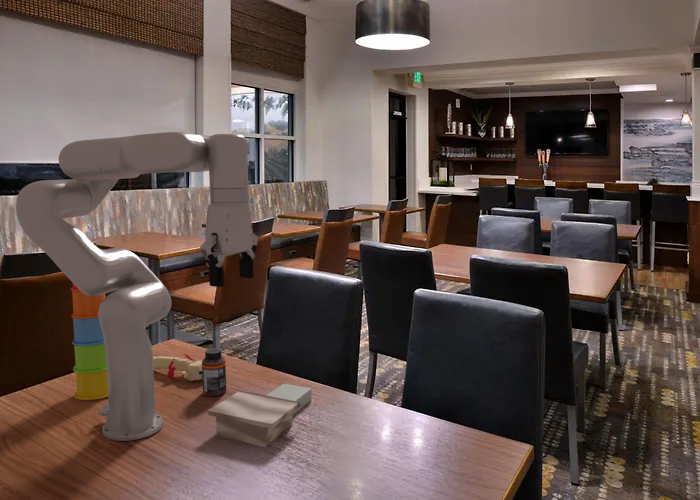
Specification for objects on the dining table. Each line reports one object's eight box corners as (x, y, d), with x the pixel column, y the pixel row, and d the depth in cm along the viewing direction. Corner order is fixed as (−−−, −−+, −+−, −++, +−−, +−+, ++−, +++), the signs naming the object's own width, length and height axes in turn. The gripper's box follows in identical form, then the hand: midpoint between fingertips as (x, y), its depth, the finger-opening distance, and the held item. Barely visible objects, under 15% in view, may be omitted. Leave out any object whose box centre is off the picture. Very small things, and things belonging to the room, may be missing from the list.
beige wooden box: (240, 412, 133) (239, 390, 132) (299, 425, 127) (299, 401, 126) (208, 434, 122) (208, 410, 121) (272, 449, 116) (271, 423, 115)
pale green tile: (258, 413, 133) (258, 401, 132) (283, 394, 144) (283, 383, 143) (287, 419, 130) (287, 407, 129) (311, 400, 141) (311, 388, 140)
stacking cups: (66, 401, 139) (57, 263, 134) (85, 385, 149) (77, 256, 144) (108, 401, 139) (100, 263, 134) (124, 386, 149) (117, 257, 144)
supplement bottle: (208, 387, 148) (206, 346, 147) (229, 388, 148) (228, 347, 146) (199, 396, 142) (197, 353, 141) (221, 397, 142) (220, 354, 140)
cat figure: (128, 378, 158) (199, 385, 148) (124, 348, 157) (196, 353, 147) (153, 367, 167) (222, 373, 157) (150, 338, 166) (219, 342, 156)
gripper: (240, 195, 121) (242, 273, 123) (184, 199, 105) (188, 288, 108) (269, 195, 118) (271, 276, 120) (216, 200, 102) (220, 291, 105)
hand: (232, 281), depth 114 cm, fingers open, 9 cm apart
